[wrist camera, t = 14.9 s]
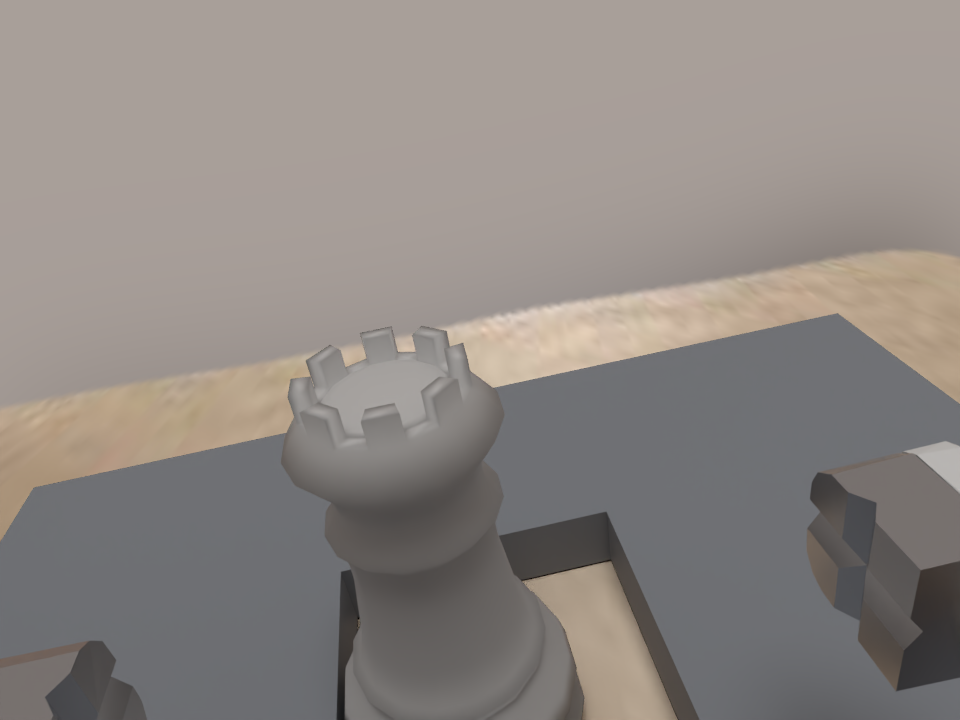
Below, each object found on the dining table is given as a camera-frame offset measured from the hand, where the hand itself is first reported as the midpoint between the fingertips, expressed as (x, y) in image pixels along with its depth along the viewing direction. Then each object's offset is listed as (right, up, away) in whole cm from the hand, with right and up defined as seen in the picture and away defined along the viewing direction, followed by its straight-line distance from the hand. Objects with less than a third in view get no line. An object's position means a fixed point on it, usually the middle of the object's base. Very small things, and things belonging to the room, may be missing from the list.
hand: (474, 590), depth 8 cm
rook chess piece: (0, -5, +6) cm, 7 cm away
